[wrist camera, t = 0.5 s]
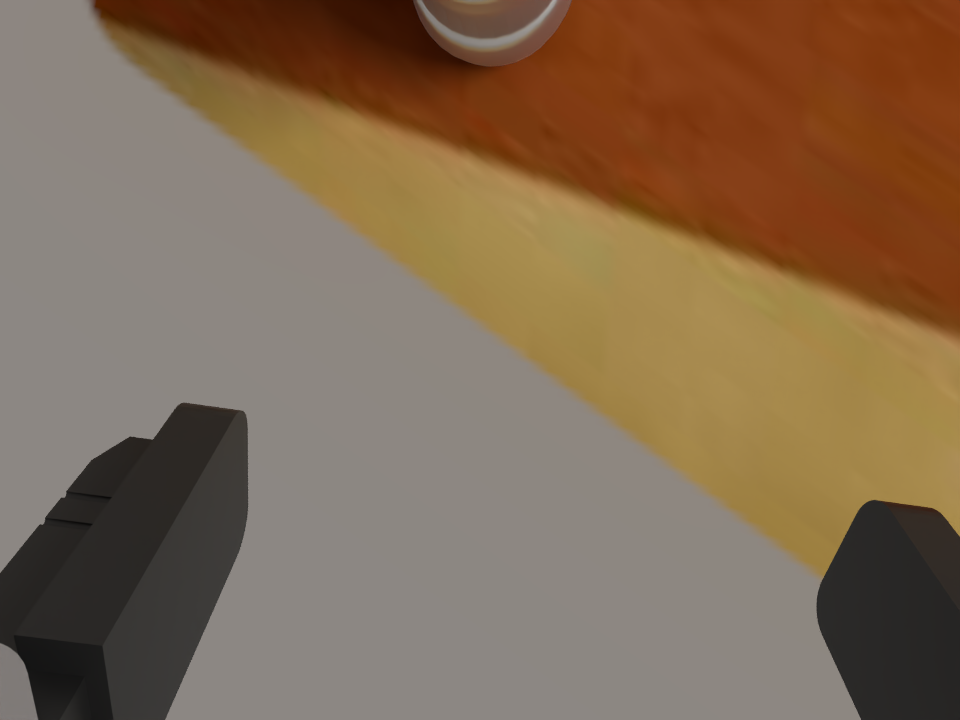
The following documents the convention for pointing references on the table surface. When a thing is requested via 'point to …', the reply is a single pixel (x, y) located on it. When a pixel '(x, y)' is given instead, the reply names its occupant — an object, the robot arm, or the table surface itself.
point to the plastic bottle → (491, 27)
